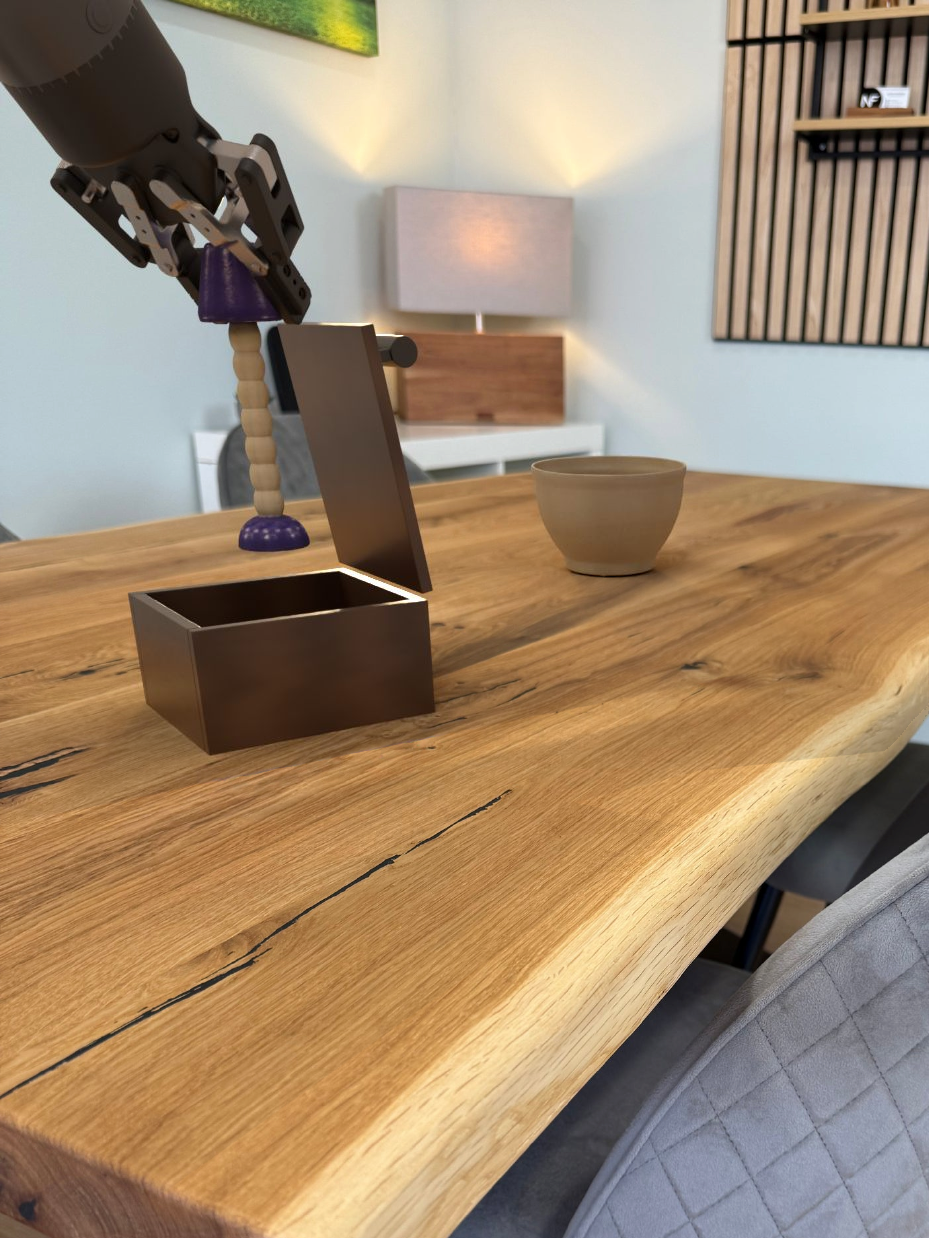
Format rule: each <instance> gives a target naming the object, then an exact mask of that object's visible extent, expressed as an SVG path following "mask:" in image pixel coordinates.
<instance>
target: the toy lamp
mask: <svg viewBox="0 0 929 1238" xmlns="http://www.w3.org/2000/svg"><path fill="white" fill-rule="evenodd" d="M250 242H251V243H252V244H253V245H254V243H255V241H253V242H252V241H250ZM202 248H203V253H202V262H201V274H200V286H199V299H198V306H197V316H198V319H199V322H201V323H209V324H210V323H211V324H214V323H227V322H229V323H228V329H227V335H228V336H227V337H228V341H229V344H230V346H231V349H232V350H233V352H234V353H233V357H232V369H233V372H234V374H235V376H236V378H237V379H238V382H237V384H236V395H237V399H238V402H239V404H240V406H241V407H242V410H241V414H240V422H241V427H242V430H243V432H244V433H245V435H246V438H245V443H244V449H245V454H246V457H247V459H248V461H249V463H250V466H249V470H248V472H249V479H250V483H251V485H252V487H253V488H254V493H253V506H254V509H255V511H256V513H257V515H255V516H252V517H251V518H250V519H248V520H247V521H246V522H245V523H244V524H243V525H242V527H241V528H240V530H239V534H238V541H237V542H238V543H237V544H238V545H237V547H238V548H239V549H241V550H242V551H246V552H247V551H248V552H255V553H276V552H278V553H279V552H289V551H295V550H300V549H301V550H302V549H305V548H307V547H309V546H310V544H311V539H310V536H309V534H308V532H307V530H306V528H305V526H304V525H303V524H302V523H301V522H300V521H299V520H297V519H296V518H294V517H293V516H290V515H288V514H284V510H285V500H284V495H283V494H282V491H281V490H280V487H281V482H282V477H281V472H280V468H279V466H278V464H277V463H276V461H277V458H278V457H277V456H278V449H277V448H278V447H277V444H276V441H275V439H274V437H273V436H272V434H273V431H274V420H273V416H272V413H271V411H270V409H269V408H268V406H269V402H270V391H269V388H268V385H267V383H266V381H265V375H266V362H265V359H264V357H263V354H262V353H261V348H262V333H261V330H260V327H259V325H258V323H262V322H263V323H266V322H282V321H283V319H282V318H281V317H280V315H279V314H278V312H277V311H276V309H275V308H274V306H273V305H272V304H271V302H270V301H269V299H268V298H267V296H266V295H265V293H264V292H263V291H262V289H261V288H260V286H259V285H258V283H257V282H256V281H255V279H254V278H253V275H254V273H253V272H251V271H250V270H249V269H248V268H247V267H246V266H245V265H244V264H243V263H242V262H241V261H240V260H239V259H238V258H237V257H236V256H235V255H234V254H233V253H232V252H231V251H230V250H229V249H228V248H226V247H221V248H217V247H215V246H214V245H212V244H211V243H210V242H209V241H208V242H206V243H205V244H204V245H203V247H202Z"/></svg>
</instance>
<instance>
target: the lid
mask: <svg viewBox="0 0 929 1238" xmlns="http://www.w3.org/2000/svg"><path fill="white" fill-rule="evenodd" d="M276 326H277V330H278V333H279V337H280V343H281V346H282V348H283V353H284V357H285V361H286V364H287V368H288V372H289V376H290V379H291V384H292V389H293V391H294V396H295V399H296V403H297V406H298V410H299V414H300V418H301V423H302V426H303V430H304V433H305V437H306V441H307V445H308V448H309V452H310V457H311V460H312V464H313V468H314V472H315V476H316V479H317V483H318V487H319V491H320V494H321V495H320V496H321V499H322V503H323V506H324V510H325V514H326V518H327V522H328V525H329V529H330V533H331V537H332V541H333V545H334V548H335V553H336V556H337V560H338V563H339V564H342V565H345V566H347V567H350V568H352V569H355V570H358V571H361V572H363V573H366V574H367V575H368V574H369V575H372V576H374V577H376V578H379V579H381V580H384V581H387V582H390V583H392V584H395V585H398V586H400V587H403V588H405V589H408V590H411V591H413V592H416V593H419V594H421V595H424V594H428V593H430V592H433V591H434V587H433V585H432V580H431V576H430V575H431V574H430V571H429V566H428V561H427V558H426V552H425V549H424V544H423V538H422V534H421V530H420V525H419V521H418V517H417V512H416V508H415V507H416V506H415V503H414V499H413V494H412V490H411V485H410V482H409V477H408V473H407V467H406V463H405V459H404V455H403V450H402V445H401V440H400V437H399V432H398V428H397V427H398V426H397V423H396V419H395V418H396V417H395V414H394V410H393V405H392V401H391V396H390V392H389V386H388V383H387V379H386V374H385V370H384V369H385V368H386V367H387V368H400V369H409V368H411V367H412V366H414V364H415V363H416V362H417V360H418V356H419V350H418V347H417V344H416V342H415V341H414V339H412V338H411V337H410V336H407V335H395V334H377V333H376V329H375V325H374V323H364V322H363V323H362V322H361V323H360V322H326V321H325V322H321V321H320V322H318V321H302V323H301V324H299V325H287V324H286V323H285V322H284V321H283V322H278V323H277V324H276ZM384 367H385V368H384Z"/></svg>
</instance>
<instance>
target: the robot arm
mask: <svg viewBox="0 0 929 1238" xmlns="http://www.w3.org/2000/svg"><path fill="white" fill-rule="evenodd" d="M0 84H1V85H2V86H3V87H4V89H5V90H6V91H7V92H8V93H9V95H10V96H11V97H12V98H13V100H14V101H15V102H16V103H17V105H18V106H19V108H20V109H21V110H22V111H23V112H24V115H26V116H27V117H28V119H29V120H30V121H31V123H32V124H33V126H34V127H35V128H36V129H37V131H39V133H40V134H41V135H42V137H43V138H44V140H46V143H48V144H49V146H50V147H51V149H52V150H53V151H54V152H55V154H57V155H58V157H59V158H60V159H61V160H60V161H59V163H58V165H57V166H56V168H55V172H54V173H53V175H52V176H51V178H50V180H49V184H50V186H51V188H52V189H53V191H54V192H55V193H57V194H58V196H59V197H60V198H62V199H63V200H64V201H65V202H66V203H67V204H68V205H69V206H70V207H71V208H72V209H73V210H74V211H75V212H77V213H78V214H79V216H81V217H82V218H83V219H84V220H85V221H86V222H87V223H88V224H89V225H90V226H91V227H92V228H93V229H94V230H95V231H97V232H98V233H99V234H100V235H101V237H103V238H104V239H105V241H107V242H108V243H109V244H110V245H111V246H112V247H113V248H114V249H115V250H117V252H119V254H121V255H122V256H123V257H124V258H125V259H126V261H128V262H129V263H130V264H131V265H133V266H134V267H136V268H139V269H145V268H147V266H148V264H154V265H157V266H156V267H157V268H158V269H159V270H160V271H161V272H162V273H163V274H164V275H167V276H168V277H171V278H175V280H177V282H178V283H179V284H180V285H181V286H182V288H183V289H184V290H185V292H186V293H187V295H189V297H190V298H191V300H193V302H194V304H195V305H196V306H197V307H198V299H199V286H200V274H201V262H202V253H203V248H204V247H194V246H195V244H196V238H195V236H194V233H193V231H192V229H191V225H192V226H193V227H194V228H195V229H196V231H197V232H199V233H200V234H201V235H202V236H203V237H204V238H205V239H206V240H207V241H208V242H210V243H211V244H212V245H214V246H215V247H217V248H221V247H226V248H228V249H229V250H230V251H231V252H232V253H233V254H234V255H235V256H236V257H237V258H238V259H239V260H240V261H241V262H242V263H243V264H244V265H245V266H246V267H247V268H248V269H249V270H250V271H251V272H253V273H254V275H253V278H254V279H255V281H256V282H257V283H258V285H259V286H260V288H261V289H262V291H263V292H264V293H265V295H266V296H267V298H268V299H269V301H270V302H271V304H272V305H273V306H274V308H275V309H276V311H277V312H278V314H279V315H280V317H281V318H282V321H283V322H285V323H286V324H287V325H299V324H301V323H302V322H304V321H303V320H304V319H305V316H306V315H307V313H308V310H309V308H310V306H311V304H312V303H311V301H312V297H313V295H312V291H311V288H310V287H309V285H308V283H307V282H306V281H305V278H304V277H303V276H302V274H301V272H300V271H299V270H298V268H297V266H296V265H295V264H294V262H293V260H292V259H291V258H292V255H293V253H294V251H295V249H296V247H297V245H298V243H299V241H300V239H301V237H302V235H303V233H304V231H305V225H304V222H303V219H302V216H301V213H300V210H299V208H298V204H297V202H296V199H295V196H294V193H293V191H292V187H291V184H290V182H289V178H288V175H287V174H286V170H285V169H284V164H283V162H282V159H281V157H280V154H279V151H278V148H277V145H276V143H275V142H274V141H273V140H272V138H271V137H269V136H268V135H266V134H264V133H260V132H257V133H255V134H253V136H252V138H251V140H250V142H249V144H243V143H239V142H233V141H228V140H224V139H223V138H222V136H221V134H220V133H219V132H218V131H217V130H216V128H215V127H213V126H212V124H210V123H209V122H208V121H207V120H206V119H205V118H204V117H202V115H200V113H199V112H198V111H197V109H196V108H195V106H194V105H193V102H192V99H191V94H190V89H189V85H188V78H187V75H186V71H185V68H184V66H183V64H182V63H181V61H180V59H179V58H178V57H177V55H176V53H175V52H174V50H173V49H172V47H171V45H170V44H169V42H168V40H167V38H166V37H165V36H164V34H163V32H162V31H161V30H160V28H159V27H158V25H157V24H156V22H155V21H154V19H153V17H152V16H151V14H150V12H149V11H148V10H147V7H146V5H144V3H143V1H142V0H0ZM224 198H226V199H225V200H226V206H225V208H224V210H223V212H222V214H221V216H220V218H219V219H218V218H217V217H216V216H215V215H216V214H217V212H218V210H219V208H220V207H221V205H222V202H223V201H224ZM121 216H123V217H124V218H125V219H126V220H127V221H128V222H129V223H130V224H131V225H132V228H133V231H134V232H135V234H134V237H132V236H131V235H130V234H128V232H127V231H125V229H124V228H122V227H121V225H120V219H121ZM243 225H245V226H246V227H247V228H248V229H249V230H250V232H251V233H253V234H254V235H255V236H256V238H255V241H254V245H253V244H252V243H251V242H252V241H250V240H249V239H248V238H247V237H246V236H245V235H244V233H243V231H242V227H243ZM213 324H214V325H227V324H228V325H229V322H227V323H213Z"/></svg>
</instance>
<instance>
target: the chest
mask: <svg viewBox="0 0 929 1238" xmlns="http://www.w3.org/2000/svg"><path fill="white" fill-rule="evenodd" d="M127 597H128V603H129V609H130V610H129V611H130V614H131V621H132V626H133V632H134V639H135V645H136V646H135V647H136V651H137V657H138V663H139V669H140V675H141V676H140V677H141V681H142V688H143V693H144V699H145V704H146V705H147V706H148V707H149V708H151V709H152V710H153V711H154V712H156V713H157V714H158V715H160V716H161V718H163V719H164V720H165V721H167V722H168V723H169V724H170V725H171V726H173V727H174V728H175V729H176V730H177V731H178V732H180V733H181V734H182V735H184V736H185V737H186V738H187V739H188V740H190V741H191V742H192V743H193V744H194V745H196V746H197V747H198V748H199V749H201V751H203V752H204V753H206V755H208V756H216V755H222V754H227V753H230V752H231V753H232V752H236V751H243V750H247V749H252V748H258V747H263V746H269V745H273V744H278V743H283V742H288V741H293V740H300V739H304V738H309V737H315V736H319V735H325V734H329V733H330V734H331V733H335V732H340V731H345V730H351V729H355V728H361V727H366V726H372V725H377V724H383V723H387V722H392V721H397V720H403V719H408V718H413V717H418V716H423V715H428V714H435V713H436V703H435V687H434V674H433V673H434V672H433V657H432V655H433V654H432V641H431V640H432V639H431V625H430V611H429V601H428V599H425V598H423V597H421V596H418V595H416V594H413V593H411V592H408V591H405V590H403V589H400V588H397V587H396V586H395V587H394V586H392V585H390V584H387V583H384V582H382V581H379V580H377V579H374V578H372V577H368V576H366V575H364V574H361V573H359V572H356V571H353V570H350V569H348V568H345V567H340V568H333V569H323V570H322V569H321V570H315V571H314V570H313V571H305V572H296V573H289V574H279V575H270V576H261V577H252V578H244V579H243V578H242V579H236V580H227V581H218V582H210V583H209V582H208V583H201V584H191V585H184V586H183V585H182V586H174V587H165V588H158V589H150V590H149V589H147V590H139V591H130V592H128V593H127Z"/></svg>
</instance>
